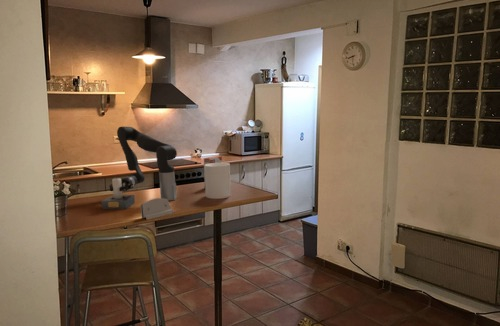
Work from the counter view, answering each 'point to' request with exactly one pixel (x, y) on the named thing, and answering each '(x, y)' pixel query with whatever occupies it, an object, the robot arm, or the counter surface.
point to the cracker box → (212, 161)
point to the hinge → (155, 208)
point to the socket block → (118, 202)
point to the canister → (217, 180)
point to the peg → (117, 188)
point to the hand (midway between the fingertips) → (115, 189)
